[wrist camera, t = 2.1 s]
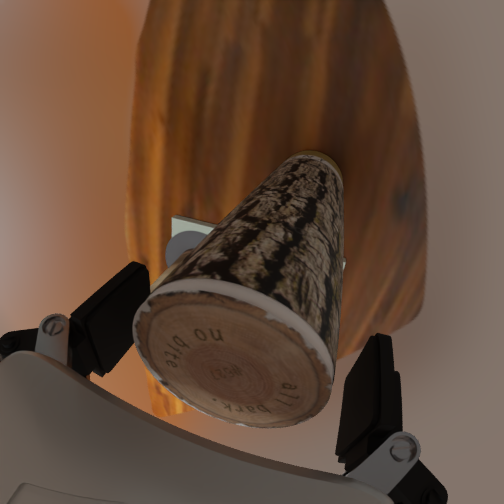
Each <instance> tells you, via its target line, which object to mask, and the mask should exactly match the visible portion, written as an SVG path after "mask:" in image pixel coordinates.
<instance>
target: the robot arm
mask: <svg viewBox="0 0 504 504" xmlns="http://www.w3.org/2000/svg"><path fill="white" fill-rule="evenodd" d="M150 294H151V291H150V280H149V271H148V270H147V269H146V266H145V265H143V264H140V263H138V262H135V261H132V262H131V263H129V264H128V265H127V266H126V267H125V268H123V269H122V270H121V271H120V272H119V273H117V274H116V275H115V276H114V277H113V278H111V279H110V280H109V281H108V282H107V283H106V284H104V285H103V286H102V287H101V288H100V289H99V290H97V291H96V292H95V293H94V294H93V295H92V296H90V298H88V299H87V300H86V301H85V302H84V303H83V304H81V305H80V306H79V307H78V308H77V309H76V310H75V311H74V312H73V313H71V314H70V315H71V318H69V319H68V318H67V317H66V316H65V315H62V314H51V315H49V316H47V317H46V318H44V319H43V320H42V321H41V323H40V326H39V328H35V329H27V330H19V331H11V332H8V333H6V334H4V335H3V336H2V337H1V338H0V504H447V500H448V494H447V490H446V489H445V487H444V486H443V485H442V484H441V483H440V482H439V481H438V479H437V478H435V476H434V475H433V474H432V473H431V472H430V471H429V470H428V469H427V468H426V467H425V466H424V465H423V463H422V462H421V461H420V460H419V457H420V453H421V448H420V444H419V441H418V440H417V439H416V437H415V436H413V435H412V434H410V433H408V432H403V429H402V428H403V426H402V397H401V383H400V382H401V381H400V374H399V372H398V371H394V361H393V360H394V359H393V348H392V339H391V336H388V335H384V334H380V333H377V334H376V335H375V336H370V338H369V340H368V342H367V343H366V345H365V347H364V349H363V350H362V352H361V354H360V356H359V357H358V359H357V361H356V362H355V364H354V366H353V367H352V369H351V371H350V372H349V374H348V375H347V377H346V380H345V384H344V392H343V402H342V409H341V417H340V426H339V432H338V438H337V445H336V452H335V454H336V455H337V456H339V458H338V462H339V463H345V470H346V472H344V473H343V474H342V475H337V474H333V473H328V472H323V471H318V470H313V469H308V468H304V467H299V466H294V465H290V464H286V463H283V462H279V461H274V460H271V459H266V458H263V457H260V456H256V455H253V454H249V453H246V452H243V451H240V450H237V449H234V448H231V447H227V446H225V445H222V444H219V443H216V442H213V441H211V440H208V439H205V438H203V437H200V436H198V435H195V434H192V433H190V432H188V431H185V430H183V429H181V428H178V427H176V426H174V425H172V424H169V423H167V422H165V421H163V420H161V419H159V418H156V417H154V416H152V415H150V414H148V413H146V412H144V411H142V410H140V409H138V408H137V407H135V406H133V405H131V404H129V403H127V402H125V401H123V400H122V399H120V398H118V397H116V396H115V395H113V394H111V393H109V392H108V391H106V390H104V389H103V388H101V387H99V386H98V385H96V384H94V383H93V382H91V381H90V373H91V372H92V371H93V372H94V373H96V374H97V375H99V376H101V377H103V376H104V375H105V373H109V372H110V371H111V370H112V369H113V368H114V367H115V365H116V364H117V363H118V362H119V360H120V359H121V358H122V357H123V356H124V354H125V353H126V352H127V351H128V350H129V348H130V347H131V346H132V345H133V344H134V338H133V329H132V328H133V320H134V316H135V314H136V312H137V310H138V309H139V307H140V306H141V305H142V304H143V303H144V302H145V300H146V299H147V297H148V296H149V295H150Z"/></svg>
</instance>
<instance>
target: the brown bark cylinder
mask: <svg viewBox="0 0 504 504" xmlns="http://www.w3.org/2000/svg"><path fill="white" fill-rule="evenodd" d="M343 252H344V197H343V179H342V174H341V171H340V169H339V167H338V166H337V164H336V163H335V162H334V161H333V160H332V159H331V158H330V157H329V156H327V155H325V154H323V153H321V152H318V151H311V150H308V151H301V152H298V153H296V154H294V155H292V156H291V157H289V158H288V159H287V160H286V161H285V162H284V163H282V164H281V165H280V166H279V167H278V168H277V169H276V170H275V171H274V172H273V173H271V174H270V175H269V176H268V177H267V178H266V179H265V180H264V181H263V182H262V183H261V184H260V185H259V186H258V187H257V188H255V189H254V190H253V191H252V192H251V193H250V194H249V195H248V196H247V197H246V198H245V199H244V200H243V201H242V202H241V203H240V204H239V205H238V206H237V207H236V208H235V209H233V210H232V211H231V212H230V213H229V214H228V215H227V216H226V217H225V218H224V219H223V220H222V221H221V222H220V223H219V224H218V225H217V226H216V227H215V228H214V229H213V230H212V231H211V232H210V233H209V234H208V235H207V236H206V237H205V238H204V239H203V240H202V241H201V242H200V243H199V244H198V245H197V246H196V247H195V248H194V249H193V250H192V251H191V252H190V253H189V254H188V255H187V256H186V257H185V258H184V259H183V260H182V261H181V262H180V263H179V264H178V265H177V266H176V267H175V268H174V269H173V271H172V272H171V273H170V274H169V275H168V276H167V277H166V278H165V279H164V280H163V281H162V282H161V283H160V284H159V285H158V286H157V287H156V288H155V289H154V290H153V291H152V293H151V294H150V295H149V296H148V297H147V299H146V300H145V302H144V303H143V304H142V305H141V306H140V307H139V309H138V310H137V312H136V314H135V316H134V320H133V328H132V329H133V338H134V342H135V346H136V348H137V351H138V353H139V355H140V357H141V359H142V361H143V362H144V364H145V365H146V367H147V368H148V370H149V371H150V372H151V373H152V375H153V376H154V377H155V378H156V379H157V380H158V381H159V382H160V383H161V384H162V385H163V386H164V387H165V388H166V389H167V390H168V391H170V392H171V393H172V394H173V395H175V396H176V397H177V398H179V399H180V400H182V401H183V402H185V403H186V404H188V405H189V406H191V407H193V408H195V409H197V410H198V411H200V412H203V413H205V414H207V415H209V416H212V417H214V418H217V419H220V420H222V421H225V422H229V423H233V424H237V425H241V426H246V427H254V428H281V427H288V426H293V425H296V424H300V423H302V422H305V421H307V420H309V419H311V418H312V417H314V416H315V415H317V414H318V413H319V412H320V411H321V410H322V409H323V408H324V407H325V405H326V404H327V402H328V400H329V398H330V395H331V390H332V385H333V381H334V375H335V367H336V358H337V349H338V339H339V328H340V315H341V300H342V282H343Z"/></svg>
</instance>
